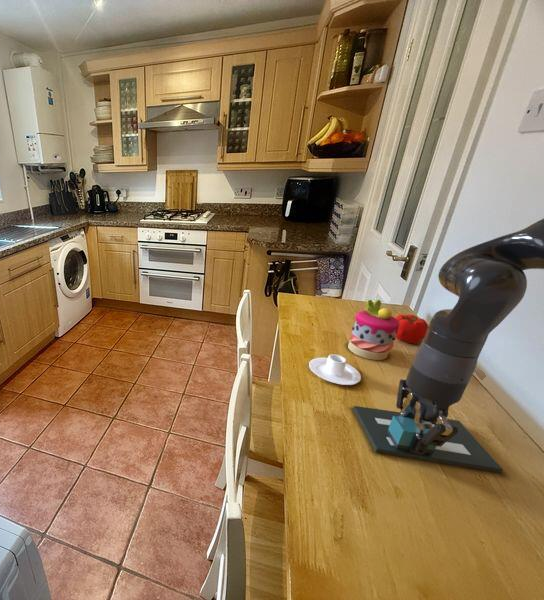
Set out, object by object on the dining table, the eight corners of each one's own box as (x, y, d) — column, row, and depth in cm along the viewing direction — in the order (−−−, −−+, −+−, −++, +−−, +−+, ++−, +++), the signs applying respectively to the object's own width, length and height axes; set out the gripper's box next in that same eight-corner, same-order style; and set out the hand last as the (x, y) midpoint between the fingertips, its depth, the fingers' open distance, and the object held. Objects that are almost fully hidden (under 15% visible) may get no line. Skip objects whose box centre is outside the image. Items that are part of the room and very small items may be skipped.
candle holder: (355, 393, 76) (360, 379, 75) (302, 374, 84) (306, 360, 82) (363, 371, 85) (368, 357, 83) (315, 354, 92) (318, 342, 90)
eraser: (421, 437, 63) (428, 420, 61) (432, 454, 59) (441, 436, 57) (386, 432, 64) (393, 415, 62) (396, 448, 60) (403, 430, 59)
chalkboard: (456, 424, 68) (458, 420, 67) (500, 473, 57) (503, 469, 56) (352, 409, 72) (353, 405, 71) (375, 452, 61) (376, 448, 61)
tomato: (400, 330, 105) (407, 310, 102) (429, 343, 98) (438, 322, 95) (379, 334, 103) (386, 314, 100) (408, 348, 95) (416, 326, 92)
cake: (396, 355, 92) (414, 308, 86) (374, 364, 88) (391, 315, 82) (360, 338, 100) (374, 294, 95) (338, 346, 96) (351, 300, 90)
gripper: (498, 399, 48) (455, 479, 54) (440, 349, 60) (411, 419, 67) (440, 392, 49) (405, 470, 56) (395, 345, 62) (371, 413, 69)
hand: (408, 442), depth 62 cm, fingers closed on eraser, 4 cm apart
